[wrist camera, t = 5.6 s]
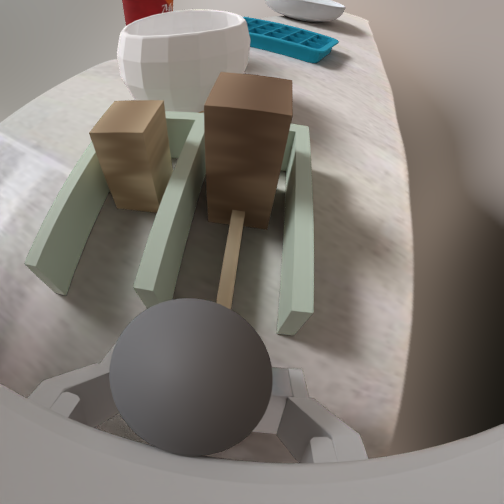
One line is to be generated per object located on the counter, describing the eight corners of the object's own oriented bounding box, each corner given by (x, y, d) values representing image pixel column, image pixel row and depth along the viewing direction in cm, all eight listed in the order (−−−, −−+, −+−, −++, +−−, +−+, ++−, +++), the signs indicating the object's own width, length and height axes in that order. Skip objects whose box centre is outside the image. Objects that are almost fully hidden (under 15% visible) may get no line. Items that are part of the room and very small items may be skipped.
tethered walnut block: (159, 431, 13) (57, 455, 4) (212, 179, 22) (212, 50, 13) (254, 445, 13) (305, 505, 4) (277, 187, 22) (305, 60, 13)
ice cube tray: (318, 69, 36) (322, 52, 33) (204, 41, 39) (205, 26, 37) (336, 54, 42) (340, 40, 39) (238, 28, 45) (239, 16, 43)
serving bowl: (353, 35, 52) (359, 12, 46) (268, 22, 49) (272, -4, 43) (324, 15, 63) (328, -3, 57) (255, 7, 60) (257, -13, 54)
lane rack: (55, 292, 16) (24, 263, 12) (123, 147, 23) (114, 111, 20) (293, 335, 16) (313, 312, 13) (298, 164, 23) (308, 126, 20)
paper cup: (183, 63, 33) (182, -27, 21) (128, 75, 31) (118, -17, 19) (172, 48, 36) (171, -28, 24) (125, 59, 34) (117, -19, 22)
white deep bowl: (110, 108, 26) (95, 32, 18) (197, 71, 32) (197, 4, 23) (169, 155, 23) (157, 48, 14) (268, 106, 28) (281, 23, 20)
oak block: (117, 208, 20) (89, 132, 14) (133, 174, 21) (114, 101, 15) (160, 213, 20) (142, 132, 14) (173, 177, 21) (163, 100, 15)
